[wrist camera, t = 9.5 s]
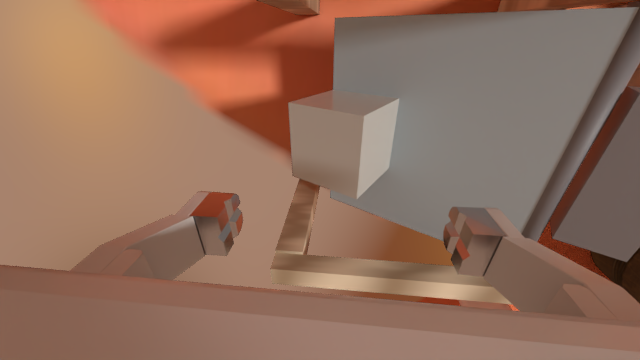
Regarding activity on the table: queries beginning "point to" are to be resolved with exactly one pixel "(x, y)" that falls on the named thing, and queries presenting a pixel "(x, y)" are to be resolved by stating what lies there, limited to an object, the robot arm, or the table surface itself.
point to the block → (342, 139)
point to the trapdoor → (505, 119)
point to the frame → (377, 274)
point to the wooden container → (621, 271)
